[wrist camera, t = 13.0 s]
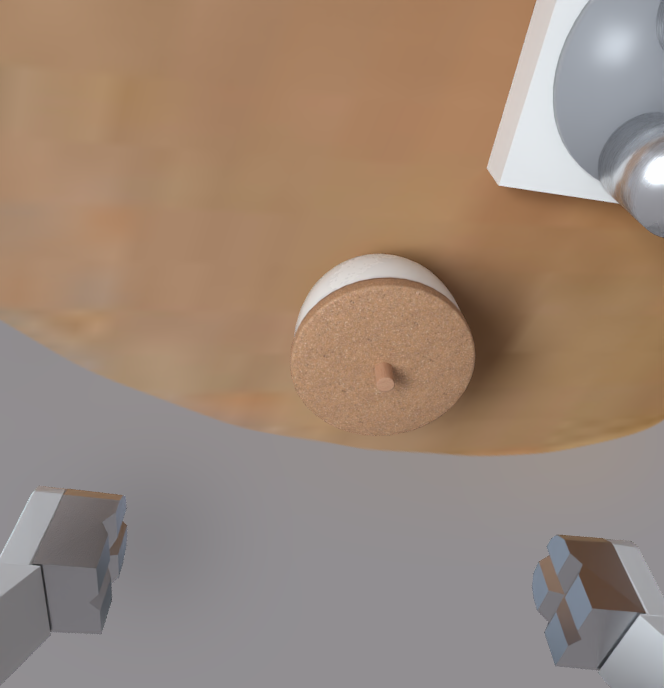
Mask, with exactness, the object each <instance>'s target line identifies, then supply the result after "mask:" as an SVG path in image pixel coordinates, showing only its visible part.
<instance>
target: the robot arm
mask: <svg viewBox="0 0 664 688" xmlns="http://www.w3.org/2000/svg"><path fill="white" fill-rule="evenodd" d="M126 509H127V508H126V497H125V496H124V495H117V494H109V493H108V494H107V493H100V492H91V491H83V490H74V489H64V488H55V487H54V488H53V487H45V486H38V487H37V489H35V490H34V491H33V493H32V494H31V496H30V498H29V500H28V502H27V504H26V506H25V508H24V510H23V512H22V514H21V516H20V518H19V520H18V522H17V524H16V526H15V528H14V530H13V532H12V534H11V536H10V538H9V540H8V542H7V544H6V545H5V547H4V549H3V552H2V553H1V555H0V686H1V684H2V683H3V682H4V681H5V680H6V679H7V678H8V677H9V676H10V675H11V674H12V673H13V672H14V671H15V670H16V669H17V668H18V667H19V666H20V665H21V664H22V663H23V662H24V661H25V660H26V659H27V658H28V657H29V656H30V655H31V654H32V653H33V652H34V651H35V650H36V649H37V648H38V647H39V646H40V645H41V644H42V643H43V642H44V641H45V640H46V639H47V638H48V637H49V636H50V635H51V633H50V632H63V633H87V634H88V633H89V634H102V630H103V627H104V624H105V621H106V618H107V614H108V611H109V608H110V605H111V602H112V587H111V584H112V583H113V582H114V581H115V580H116V579H117V578H119V575H120V571H121V568H122V565H123V560H124V555H125V550H126V542H127V525H126V524H125V523H124V522H123V518H124V515H125V512H126ZM547 549H548V552H549V556H547V557H546V558H544V559H542V560H541V561H539V562H538V565H537V567H536V569H535V571H534V573H533V583H532V589H533V597H534V601H535V605H536V608H537V610H538V612H539V613H540V614H541V615H542V616H543V617H544V618H545V619H546V620H547V621H548V625H547V627H546V630H545V632H544V633H545V636H546V639H547V642H548V645H549V648H550V651H551V654H552V657H553V660H554V663H555V666H560V667H570V668H580V669H591V670H599V672H598V673H599V675H600V676H601V677H602V678H603V679H604V681H605V682H606V683H607V684H608V686H609V687H610V688H664V596H663V594H662V592H661V590H660V589H659V587H658V585H657V583H656V581H655V579H654V577H653V575H652V573H651V571H650V569H649V568H648V566H647V564H646V562H645V560H644V558H643V556H642V554H641V552H640V550H639V548H638V547H637V546H636V545H635V544H634V543H633V542H632V541H623V540H611V539H603V538H593V537H580V536H566V535H556V536H554V537H553V538H551V540H550V542H549V544H548V545H547Z"/></svg>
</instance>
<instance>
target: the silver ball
mask: <svg viewBox="0 0 664 688" xmlns="http://www.w3.org/2000/svg"><path fill="white" fill-rule="evenodd" d="M656 34H657V39H658V42H659V44H660V46H661V48H662V50H663V51H664V0H661V2H660V5H659V8H658V12H657V16H656Z"/></svg>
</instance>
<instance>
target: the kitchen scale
mask: <svg viewBox="0 0 664 688" xmlns="http://www.w3.org/2000/svg"><path fill="white" fill-rule="evenodd" d="M660 2H661V0H537V1H536V4H535V7H534V11H533V14H532V17H531V21H530V24H529V28H528V31H527V34H526V38H525V41H524V44H523V48H522V51H521V54H520V58H519V61H518V65H517V68H516V71H515V75H514V78H513V81H512V85H511V88H510V92H509V95H508V98H507V102H506V105H505V108H504V112H503V115H502V118H501V122H500V125H499V129H498V132H497V135H496V139H495V142H494V145H493V149H492V152H491V155H490V159H489V162H488V166H487V169H488V171H489V172H490V174H491V175H492V176H493V178H494V179H495V181H496V182H497V184H498V185H499V186H506V187H512V188H519V189H526V190H532V191H539V192H546V193H552V194H559V195H566V196H572V197H579V198H586V199H593V200H599V201H606V202H613V203H618V202H617V201H616V200H615V199H614V198H613V197H612V196H610V195H609V194H608V193H607V192H606V191H605V189H604V188H603V187H602V185H601V183H600V180H599V176H598V161H599V157H600V154H601V151H602V149H603V147H604V145H605V143H606V141H607V140H608V139H609V137H610V136H611V135H612V134H613V132H614V131H615V130H616V129H618V128H619V127H620V126H621V125H622V124H624V123H625V122H627V121H628V120H630V119H632V118H634V117H636V116H639V115H642V114H645V113H651V112H661V113H664V51H663V50H662V48H661V46H660V44H659V42H658V39H657V34H656V16H657V12H658V8H659V5H660Z"/></svg>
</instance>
